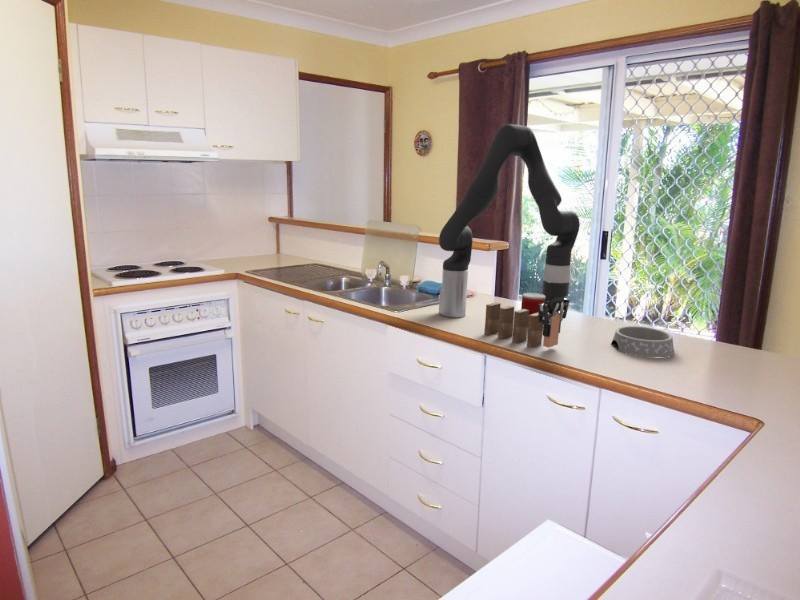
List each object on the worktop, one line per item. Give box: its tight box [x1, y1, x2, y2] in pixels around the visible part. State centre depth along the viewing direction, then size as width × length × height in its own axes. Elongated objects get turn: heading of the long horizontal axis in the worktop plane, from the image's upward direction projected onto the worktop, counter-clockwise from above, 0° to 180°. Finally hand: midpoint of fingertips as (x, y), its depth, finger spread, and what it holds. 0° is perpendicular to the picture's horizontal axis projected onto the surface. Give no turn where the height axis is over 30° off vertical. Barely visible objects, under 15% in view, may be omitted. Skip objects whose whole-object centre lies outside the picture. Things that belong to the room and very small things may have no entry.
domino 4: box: [526, 313, 543, 349], centre depth 168 cm, size 2×5×10 cm, turn 134°
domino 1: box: [484, 302, 502, 336], centre depth 180 cm, size 2×5×10 cm, turn 133°
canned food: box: [520, 292, 545, 327], centre depth 190 cm, size 8×8×11 cm
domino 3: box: [511, 309, 529, 344], centre depth 172 cm, size 2×5×10 cm, turn 133°
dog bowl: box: [610, 325, 675, 358], centre depth 168 cm, size 17×18×5 cm
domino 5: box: [542, 313, 560, 348], centre depth 164 cm, size 2×5×10 cm, turn 133°
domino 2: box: [497, 305, 515, 340], centre depth 176 cm, size 2×5×10 cm, turn 133°
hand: (551, 334), depth 164 cm, fingers closed on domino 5, 5 cm apart
